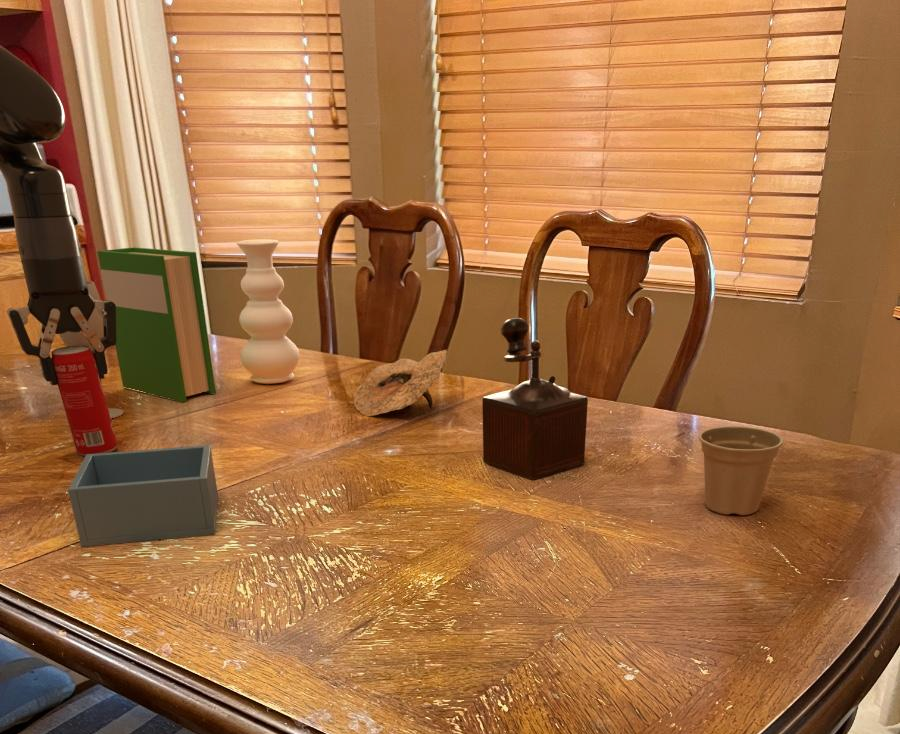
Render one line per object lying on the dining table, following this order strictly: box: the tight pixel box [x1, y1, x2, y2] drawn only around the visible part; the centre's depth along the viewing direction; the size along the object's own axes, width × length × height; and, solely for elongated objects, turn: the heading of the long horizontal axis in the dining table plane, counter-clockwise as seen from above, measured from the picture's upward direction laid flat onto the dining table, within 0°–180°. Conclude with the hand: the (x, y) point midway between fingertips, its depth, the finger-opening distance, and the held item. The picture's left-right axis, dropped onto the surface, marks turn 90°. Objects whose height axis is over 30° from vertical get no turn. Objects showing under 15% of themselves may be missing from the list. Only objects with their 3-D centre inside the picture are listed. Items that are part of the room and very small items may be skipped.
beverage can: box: [50, 345, 118, 457], centre depth 123 cm, size 6×6×15 cm
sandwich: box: [352, 349, 448, 417], centre depth 145 cm, size 18×14×8 cm
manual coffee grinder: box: [481, 317, 589, 481], centre depth 117 cm, size 16×11×18 cm
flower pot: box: [698, 425, 784, 516], centre depth 101 cm, size 9×9×9 cm
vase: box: [236, 238, 300, 385], centre depth 159 cm, size 11×11×25 cm
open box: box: [67, 444, 219, 548], centre depth 101 cm, size 15×13×7 cm
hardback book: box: [96, 246, 217, 403], centre depth 153 cm, size 18×7×24 cm, turn 53°
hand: (77, 380), depth 122 cm, fingers closed on beverage can, 5 cm apart
